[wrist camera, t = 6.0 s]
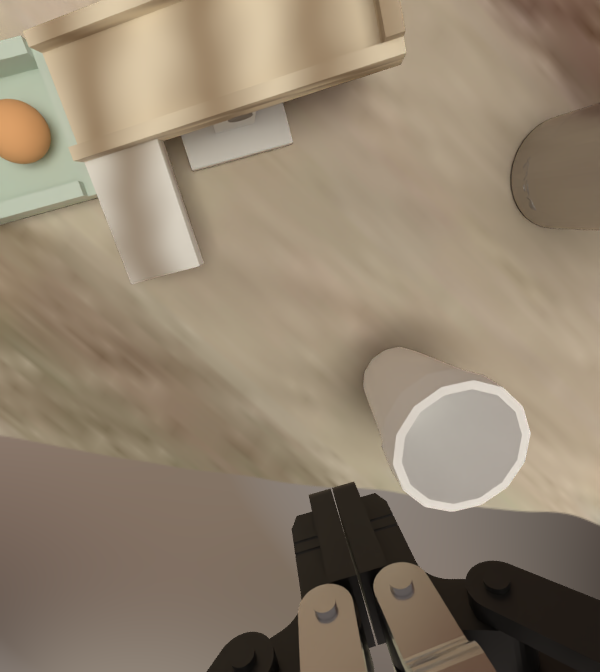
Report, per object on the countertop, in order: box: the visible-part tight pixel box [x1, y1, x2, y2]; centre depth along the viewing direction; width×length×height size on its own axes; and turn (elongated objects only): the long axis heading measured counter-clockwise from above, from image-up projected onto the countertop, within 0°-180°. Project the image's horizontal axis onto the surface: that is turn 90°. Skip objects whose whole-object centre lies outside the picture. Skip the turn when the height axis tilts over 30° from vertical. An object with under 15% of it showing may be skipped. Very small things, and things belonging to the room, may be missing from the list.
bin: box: [0, 36, 98, 225], centre depth 30 cm, size 9×10×7 cm
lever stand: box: [181, 103, 293, 171], centre depth 31 cm, size 8×10×6 cm
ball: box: [0, 99, 51, 164], centre depth 30 cm, size 4×4×4 cm
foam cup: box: [363, 347, 531, 512], centre depth 35 cm, size 10×9×13 cm
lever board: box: [23, 0, 406, 284], centre depth 27 cm, size 20×15×5 cm
